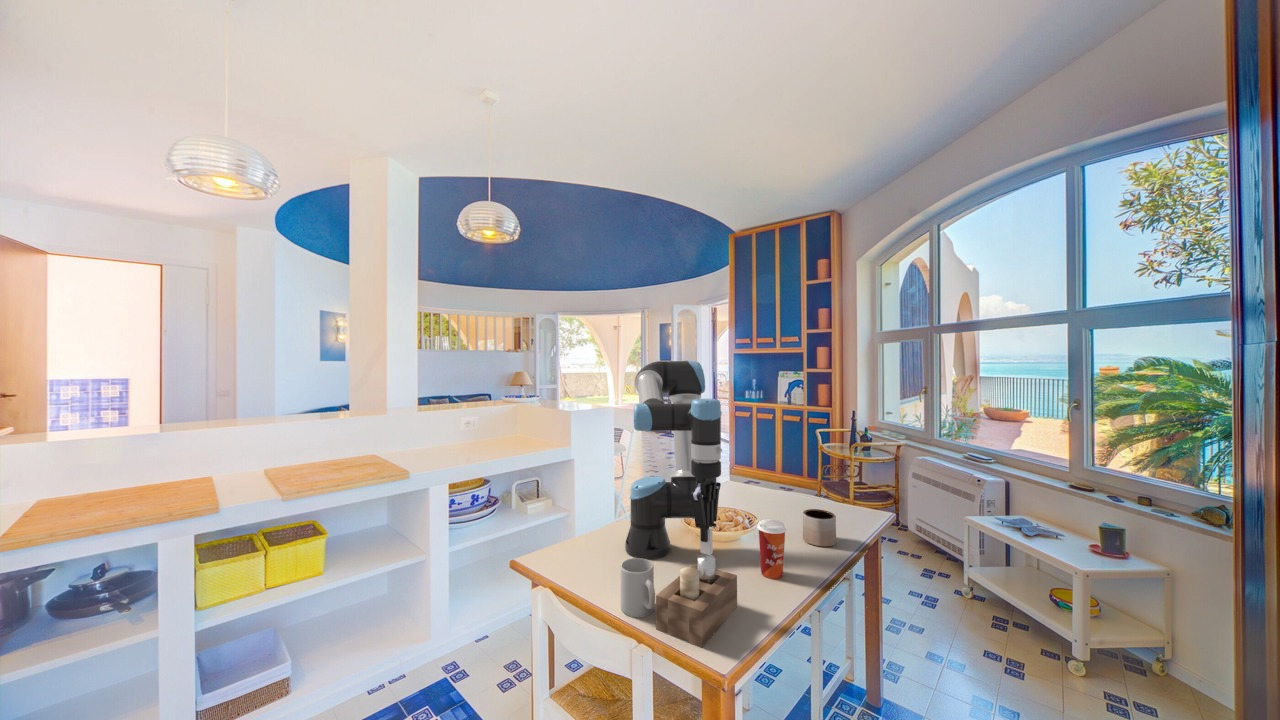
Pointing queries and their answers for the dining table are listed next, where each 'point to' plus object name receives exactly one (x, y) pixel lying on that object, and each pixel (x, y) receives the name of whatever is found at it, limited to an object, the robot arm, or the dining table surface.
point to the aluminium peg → (706, 568)
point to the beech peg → (689, 583)
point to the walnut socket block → (696, 608)
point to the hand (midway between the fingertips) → (706, 552)
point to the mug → (637, 587)
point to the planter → (819, 527)
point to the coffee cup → (771, 547)
